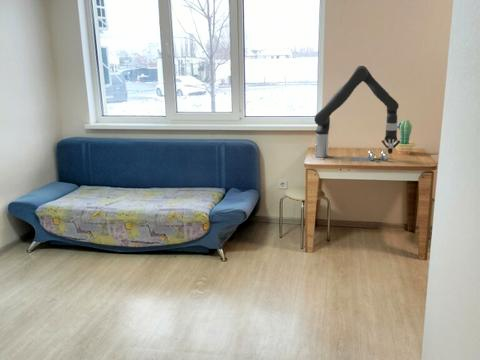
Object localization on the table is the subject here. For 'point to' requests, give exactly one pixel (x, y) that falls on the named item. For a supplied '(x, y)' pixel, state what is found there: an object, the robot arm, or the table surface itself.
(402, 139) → the potted cactus
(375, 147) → the table surface
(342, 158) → the table surface
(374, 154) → the cylinder
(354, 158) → the mat
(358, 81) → the robot arm
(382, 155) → the spacer back right
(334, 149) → the table surface
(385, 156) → the cylinder
